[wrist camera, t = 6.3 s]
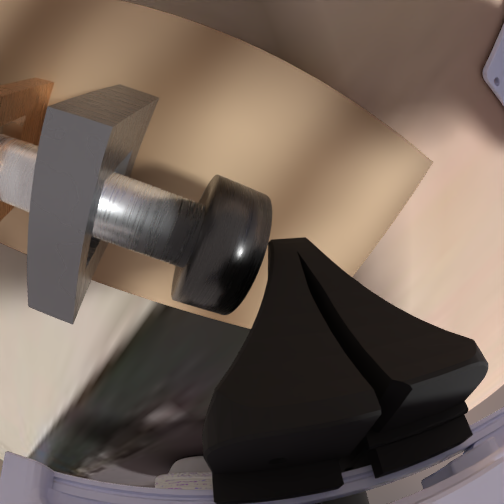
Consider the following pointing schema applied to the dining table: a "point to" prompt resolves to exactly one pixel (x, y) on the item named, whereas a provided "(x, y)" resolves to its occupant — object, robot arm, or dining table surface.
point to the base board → (217, 132)
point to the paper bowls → (187, 475)
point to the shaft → (169, 227)
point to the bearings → (70, 179)
